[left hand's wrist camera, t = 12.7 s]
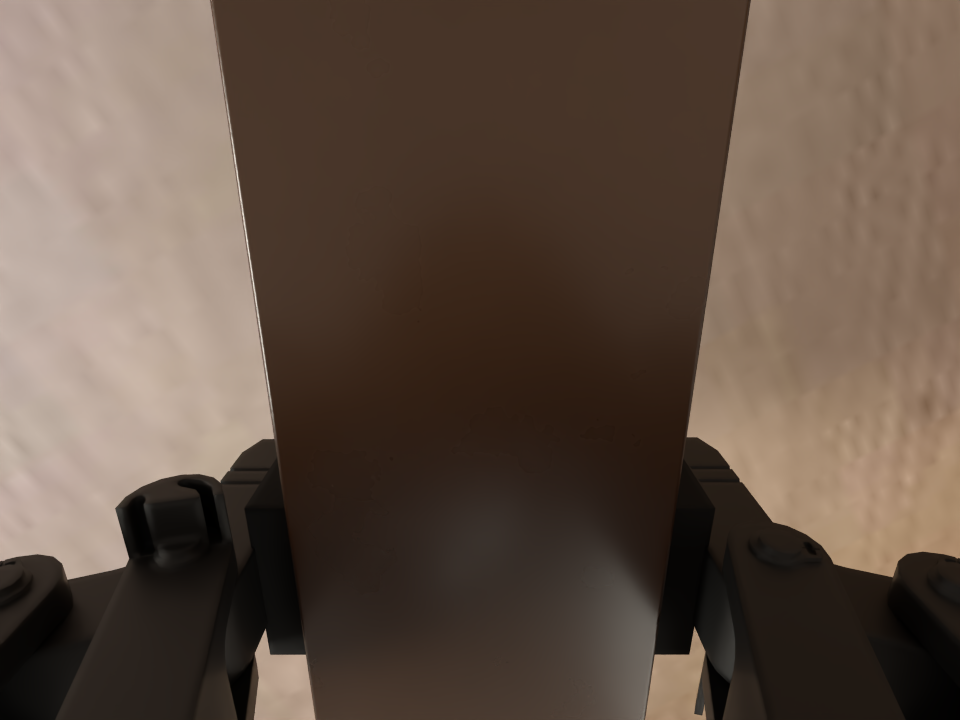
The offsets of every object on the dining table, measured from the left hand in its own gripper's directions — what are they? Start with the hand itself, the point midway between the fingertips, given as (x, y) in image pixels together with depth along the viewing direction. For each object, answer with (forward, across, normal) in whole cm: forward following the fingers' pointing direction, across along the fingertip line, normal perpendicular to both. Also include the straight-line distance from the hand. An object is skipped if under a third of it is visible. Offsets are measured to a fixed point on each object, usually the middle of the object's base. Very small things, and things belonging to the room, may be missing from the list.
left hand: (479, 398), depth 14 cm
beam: (0, 0, -10) cm, 10 cm away
